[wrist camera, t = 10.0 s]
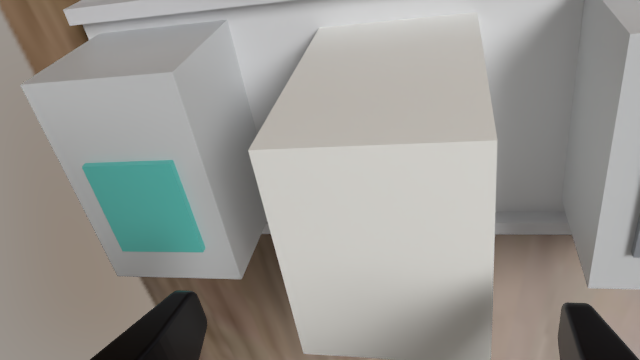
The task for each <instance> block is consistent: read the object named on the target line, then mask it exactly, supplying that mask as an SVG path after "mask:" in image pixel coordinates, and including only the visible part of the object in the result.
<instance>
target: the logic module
mask: <svg viewBox="0 0 640 360" xmlns="http://www.w3.org/2000/svg"><path fill="white" fill-rule="evenodd" d="M248 152H249V155H250V159H251V163H252V166H253V170H254V174H255V177H256V181H257V185H258V188H259V192H260V196H261V199H262V203H263V207H264V210H265V214H266V218H267V221H268V225H269V229H270V232H271V236H272V240H273V243H274V247H275V251H276V254H277V258H278V262H279V265H280V269H281V273H282V276H283V280H284V284H285V287H286V291H287V295H288V298H289V302H290V306H291V309H292V313H293V317H294V320H295V324H296V328H297V331H298V335H299V339H300V342H301V346H302V350H303V353H304V354H316V355H333V356H349V357H365V358H381V359H397V360H491V343H492V309H493V275H494V241H495V207H496V173H497V134H496V128H495V122H494V115H493V109H492V103H491V96H490V90H489V84H488V77H487V71H486V64H485V58H484V52H483V45H482V39H481V33H480V26H479V20H478V14H477V12H474V13H464V14H454V15H444V16H434V17H423V18H413V19H403V20H393V21H383V22H372V23H362V24H352V25H342V26H332V27H321V28H319V29H318V31H317V33H316V34H315V36H314V38H313V39H312V41H311V43H310V45H309V46H308V48H307V50H306V51H305V53H304V55H303V57H302V58H301V60H300V62H299V63H298V65H297V67H296V69H295V70H294V72H293V74H292V76H291V77H290V79H289V81H288V82H287V84H286V86H285V88H284V89H283V91H282V93H281V94H280V96H279V98H278V100H277V101H276V103H275V105H274V106H273V108H272V110H271V112H270V113H269V115H268V117H267V119H266V120H265V122H264V124H263V125H262V127H261V129H260V131H259V132H258V134H257V136H256V137H255V139H254V141H253V143H252V144H251V146H250V148H249V150H248Z"/></svg>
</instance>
